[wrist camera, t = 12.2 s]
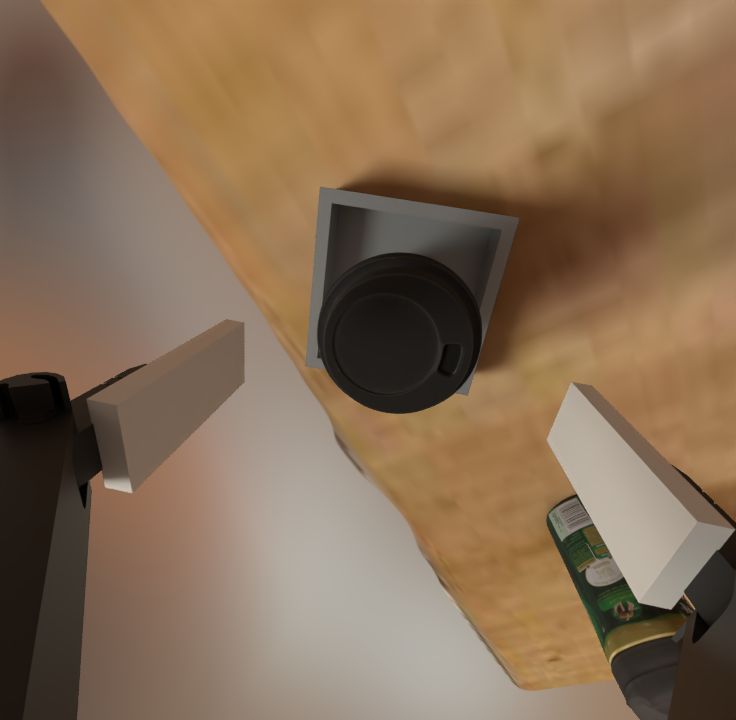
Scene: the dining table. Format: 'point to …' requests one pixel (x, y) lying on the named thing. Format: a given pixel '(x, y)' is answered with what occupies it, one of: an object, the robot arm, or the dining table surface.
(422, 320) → the coffee cup
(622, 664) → the coffee jar
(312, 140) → the dining table surface
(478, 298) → the tray
